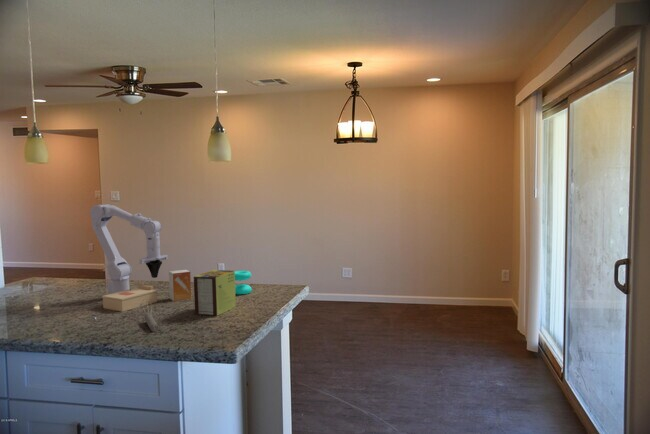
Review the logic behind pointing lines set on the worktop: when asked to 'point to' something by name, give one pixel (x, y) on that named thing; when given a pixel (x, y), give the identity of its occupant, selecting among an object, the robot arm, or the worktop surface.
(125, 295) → the lid
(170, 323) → the worktop surface
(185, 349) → the worktop surface
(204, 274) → the protein box
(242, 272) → the donuts
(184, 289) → the small box
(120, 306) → the wooden box
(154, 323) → the kitchen whisk
